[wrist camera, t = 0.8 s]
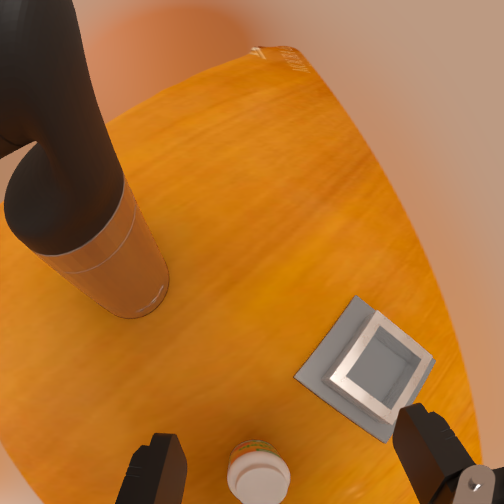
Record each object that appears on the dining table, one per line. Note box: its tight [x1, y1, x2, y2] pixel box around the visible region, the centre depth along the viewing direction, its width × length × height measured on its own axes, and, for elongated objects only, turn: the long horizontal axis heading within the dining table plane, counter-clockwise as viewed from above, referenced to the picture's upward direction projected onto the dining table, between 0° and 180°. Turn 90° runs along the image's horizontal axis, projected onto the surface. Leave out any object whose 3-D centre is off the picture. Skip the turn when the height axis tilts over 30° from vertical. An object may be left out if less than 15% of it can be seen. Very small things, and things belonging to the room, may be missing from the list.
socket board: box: [293, 295, 436, 443], centre depth 30 cm, size 14×12×4 cm
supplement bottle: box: [227, 440, 290, 504], centre depth 22 cm, size 5×5×10 cm
